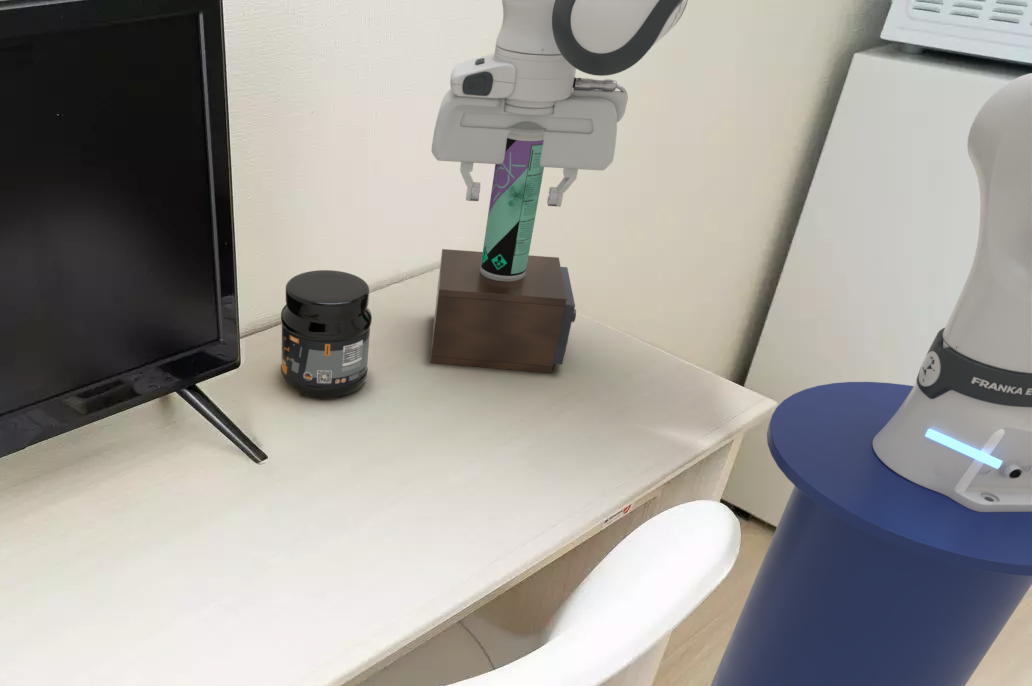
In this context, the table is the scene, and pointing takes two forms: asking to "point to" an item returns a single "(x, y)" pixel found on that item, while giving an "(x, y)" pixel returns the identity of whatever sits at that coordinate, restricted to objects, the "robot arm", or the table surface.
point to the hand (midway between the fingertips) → (512, 202)
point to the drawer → (565, 318)
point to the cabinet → (497, 314)
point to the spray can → (513, 204)
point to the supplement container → (325, 333)
